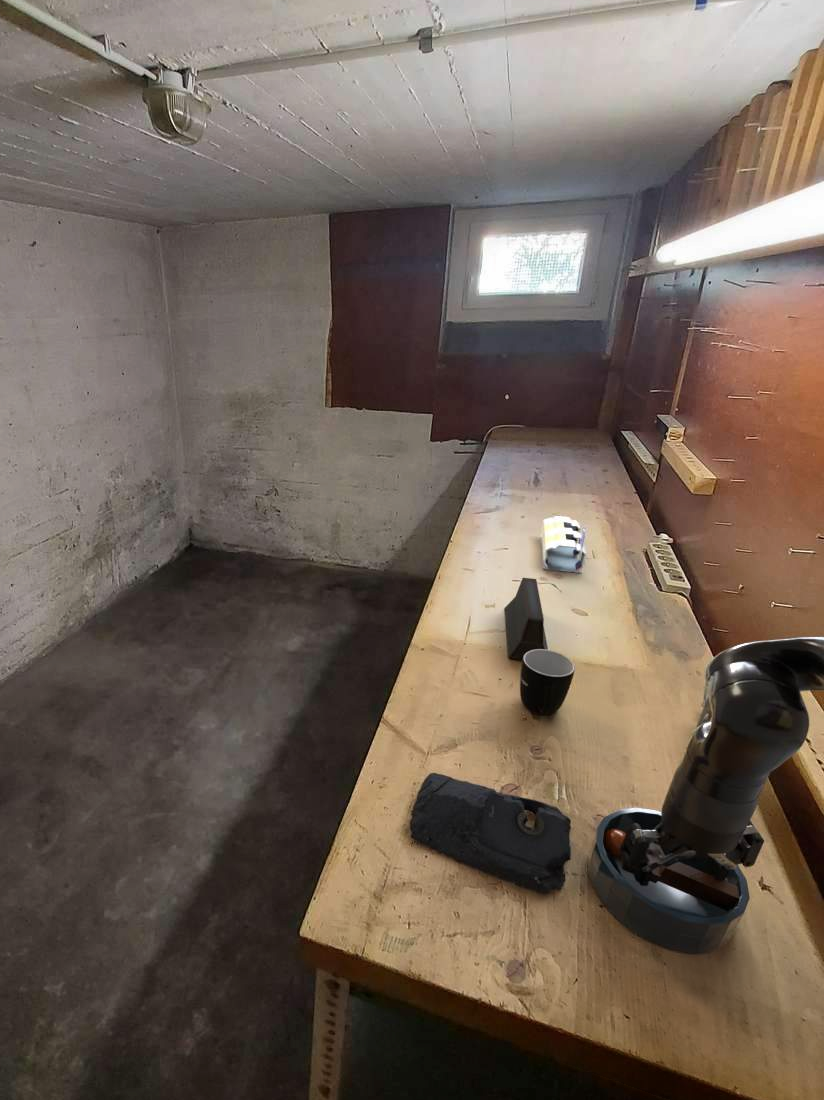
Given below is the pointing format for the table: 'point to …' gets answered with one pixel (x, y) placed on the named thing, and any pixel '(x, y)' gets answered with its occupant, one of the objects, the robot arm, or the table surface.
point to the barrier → (525, 621)
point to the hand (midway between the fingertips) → (675, 878)
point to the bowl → (661, 895)
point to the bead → (613, 842)
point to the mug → (545, 680)
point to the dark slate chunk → (493, 832)
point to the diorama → (562, 544)
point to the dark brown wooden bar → (694, 883)
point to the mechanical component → (705, 708)
